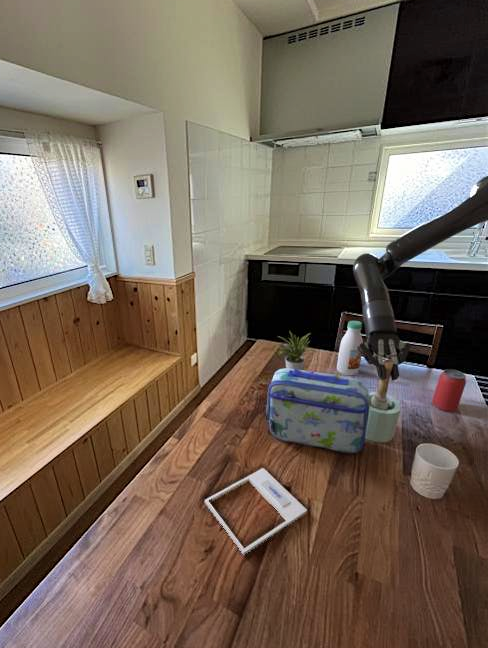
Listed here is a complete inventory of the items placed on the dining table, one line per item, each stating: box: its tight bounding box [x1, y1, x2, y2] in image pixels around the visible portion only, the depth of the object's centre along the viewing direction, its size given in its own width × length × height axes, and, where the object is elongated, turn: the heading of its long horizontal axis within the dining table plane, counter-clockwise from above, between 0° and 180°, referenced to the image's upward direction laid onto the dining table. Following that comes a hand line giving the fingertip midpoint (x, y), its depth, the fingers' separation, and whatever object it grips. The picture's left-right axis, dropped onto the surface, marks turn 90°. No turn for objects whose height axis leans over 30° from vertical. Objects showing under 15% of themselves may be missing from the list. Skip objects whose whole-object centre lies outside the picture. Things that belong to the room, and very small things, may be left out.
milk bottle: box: [336, 320, 364, 376], centre depth 125 cm, size 8×8×20 cm
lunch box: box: [265, 367, 370, 454], centre depth 93 cm, size 26×11×21 cm, turn 65°
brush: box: [370, 359, 393, 411], centre depth 92 cm, size 4×4×15 cm
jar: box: [365, 391, 402, 443], centre depth 96 cm, size 10×10×10 cm
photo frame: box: [204, 467, 308, 557], centre depth 77 cm, size 15×1×18 cm
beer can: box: [431, 368, 467, 412], centre depth 104 cm, size 7×7×12 cm
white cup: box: [409, 442, 460, 500], centre depth 78 cm, size 8×8×10 cm
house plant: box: [274, 330, 312, 370], centre depth 127 cm, size 14×14×16 cm
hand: (389, 379), depth 89 cm, fingers closed on brush, 2 cm apart
